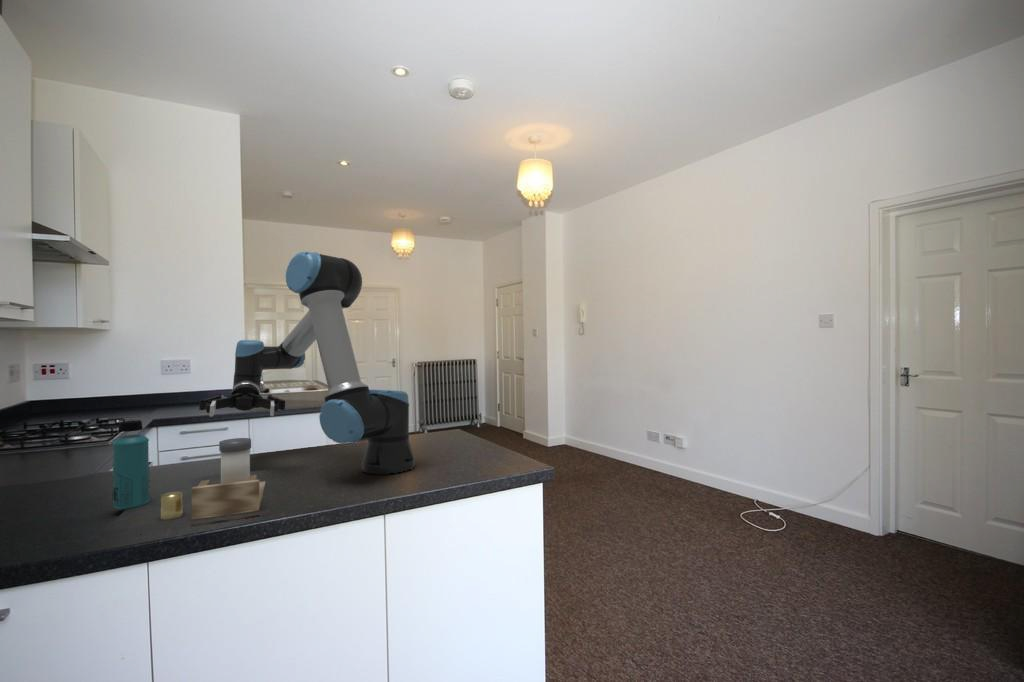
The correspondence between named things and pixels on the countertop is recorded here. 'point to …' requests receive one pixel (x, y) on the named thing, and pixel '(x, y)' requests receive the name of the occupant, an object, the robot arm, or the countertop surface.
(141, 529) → the countertop surface
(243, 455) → the grey-lidded white jar
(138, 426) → the beverage bottle
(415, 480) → the countertop surface
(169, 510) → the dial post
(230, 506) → the mount
